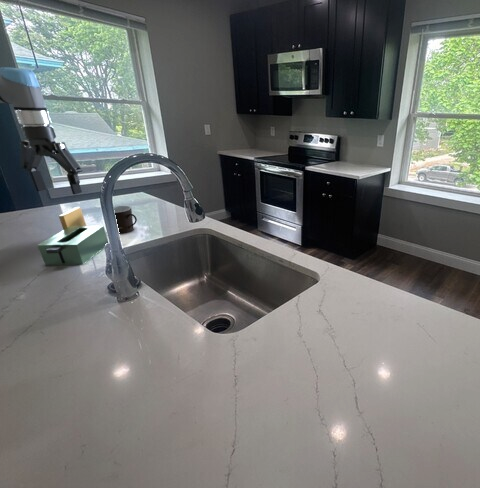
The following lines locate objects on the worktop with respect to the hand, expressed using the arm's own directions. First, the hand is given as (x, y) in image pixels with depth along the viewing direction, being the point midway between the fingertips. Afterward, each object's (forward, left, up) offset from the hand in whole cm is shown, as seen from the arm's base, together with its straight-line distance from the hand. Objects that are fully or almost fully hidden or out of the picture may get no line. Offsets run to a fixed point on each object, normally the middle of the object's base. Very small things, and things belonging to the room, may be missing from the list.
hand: (59, 191), depth 102 cm
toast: (-2, +5, -20) cm, 21 cm away
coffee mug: (+12, +11, -21) cm, 26 cm away
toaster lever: (+5, -18, -14) cm, 24 cm away
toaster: (+6, -9, -20) cm, 23 cm away
